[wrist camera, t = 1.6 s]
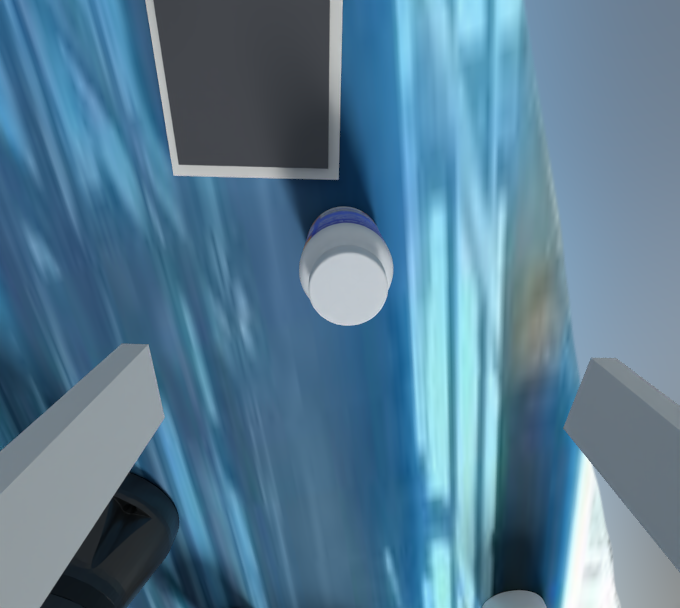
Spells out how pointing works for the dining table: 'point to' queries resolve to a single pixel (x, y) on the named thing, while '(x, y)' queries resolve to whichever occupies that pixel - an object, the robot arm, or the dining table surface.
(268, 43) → the ink pad
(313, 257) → the pill bottle
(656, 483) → the robot arm
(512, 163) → the dining table surface
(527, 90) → the dining table surface
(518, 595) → the cup
